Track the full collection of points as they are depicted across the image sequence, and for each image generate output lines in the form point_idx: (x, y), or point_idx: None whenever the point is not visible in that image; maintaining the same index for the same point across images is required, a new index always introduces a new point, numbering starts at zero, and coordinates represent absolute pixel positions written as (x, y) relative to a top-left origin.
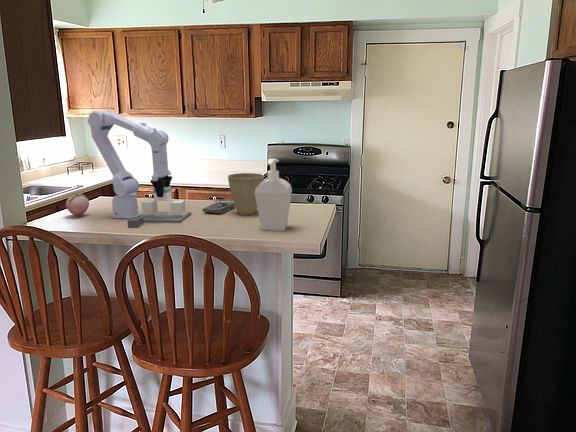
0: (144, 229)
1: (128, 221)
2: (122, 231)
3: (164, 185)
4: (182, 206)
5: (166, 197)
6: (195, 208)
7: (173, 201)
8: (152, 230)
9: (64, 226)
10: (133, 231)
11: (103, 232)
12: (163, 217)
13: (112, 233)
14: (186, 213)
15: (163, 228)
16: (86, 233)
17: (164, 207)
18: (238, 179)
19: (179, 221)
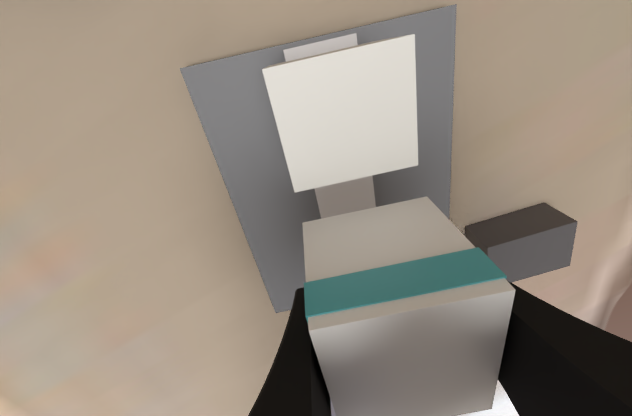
0: (587, 152)
1: (566, 258)
2: (603, 227)
3: (324, 410)
4: (360, 45)
5: (444, 221)
6: (9, 145)
7: (352, 168)
8: (620, 94)
9: (500, 408)
10: (616, 182)
11: (602, 281)
12: (385, 177)
13: (628, 244)
14: (284, 50)
15: (586, 50)
16: (602, 319)
17: (124, 321)
18: None
19: (451, 12)
